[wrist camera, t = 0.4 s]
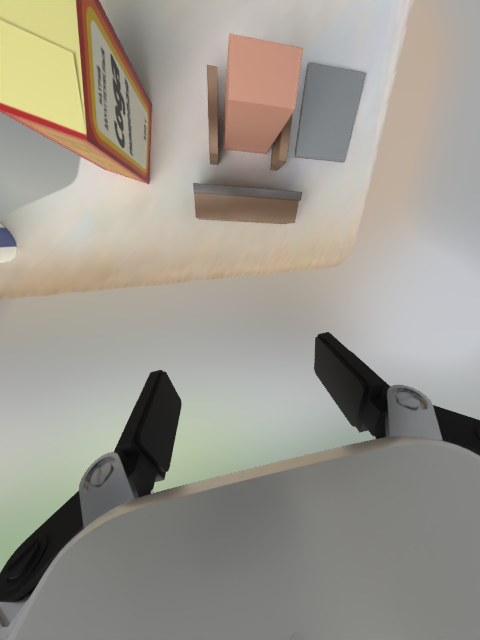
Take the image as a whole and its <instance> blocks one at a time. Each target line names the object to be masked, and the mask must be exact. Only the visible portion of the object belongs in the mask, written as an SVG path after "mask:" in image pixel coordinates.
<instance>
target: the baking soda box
mask: <svg viewBox="0 0 480 640" xmlns="http://www.w3.org/2000/svg"><path fill="white" fill-rule="evenodd" d="M0 112H2V113H3V114H5V115H7V116H9V117H11V118H13V119H14V120H16V121H18V122H20V123H22V124H23V125H25V126H27V127H29V128H31V129H32V130H34V131H36V132H38V133H40V134H41V135H43V136H45V137H47V138H49V139H51V140H52V141H54V142H56V143H58V144H60V145H61V146H63V147H65V148H67V149H69V150H71V151H72V152H74V153H76V154H78V155H79V156H81V157H83V158H85V159H87V160H88V161H90V162H92V163H94V164H96V165H97V166H99V167H101V168H103V169H105V170H108V171H111V172H114V173H117V174H120V175H123V176H126V177H129V178H132V179H135V180H138V181H141V182H144V183H147V184H149V170H150V141H151V113H152V104H151V102H150V100H149V98H148V96H147V94H146V92H145V90H144V88H143V87H142V85H141V83H140V81H139V79H138V77H137V75H136V73H135V71H134V69H133V67H132V65H131V63H130V61H129V59H128V57H127V55H126V53H125V51H124V49H123V47H122V45H121V43H120V41H119V39H118V37H117V35H116V33H115V31H114V29H113V27H112V25H111V23H110V21H109V19H108V17H107V15H106V14H105V12H104V10H103V8H102V6H101V4H100V2H99V0H0Z"/></svg>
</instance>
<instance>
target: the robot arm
mask: <svg viewBox="0 0 480 640" xmlns="http://www.w3.org/2000/svg"><path fill="white" fill-rule="evenodd" d="M314 370H315V373H316V375H317V376H318V378H319V379H320V381H321V382H322V384H323V385H324V386H325V388H326V389H327V391H328V392H329V393H330V395H331V397H332V398H333V399H334V401H335V402H336V404H337V405H338V406H339V408H340V409H341V411H342V412H343V414H344V415H345V417H346V418H347V420H348V421H349V422H350V424H351V425H352V426H356V428H357V429H358V431H359V432H363V431H367V430H369V432H370V433H371V434H372V436H373V440H370V441H365V442H361V443H356V444H351V445H346V446H342V447H338V448H334V449H329V450H325V451H321V452H317V453H313V454H308V455H305V456H300V457H296V458H292V459H288V460H283V461H279V462H275V463H271V464H267V465H263V466H259V467H255V468H251V469H247V470H242V471H238V472H234V473H230V474H226V475H223V476H218V477H215V478H210V479H206V480H202V481H198V482H194V483H190V484H186V485H183V486H179V487H175V488H171V489H167V490H164V491H160V492H156V493H154V492H153V490H152V489H153V487H154V482H157V481H161V480H164V478H165V473H166V472H167V471H168V470H169V467H170V461H171V457H172V452H173V446H174V441H175V436H176V431H177V426H178V420H179V416H180V410H181V399H180V397H179V396H178V394H177V392H176V390H175V388H174V386H173V385H172V383H171V381H170V379H169V377H168V375H167V373H166V372H163V371H162V370H158V371H155V372H151V373H150V375H149V377H148V379H147V381H146V383H145V386H144V388H143V390H142V392H141V394H140V397H139V399H138V401H137V402H136V405H135V407H134V409H133V411H132V413H131V416H130V418H129V420H128V422H127V424H126V426H125V429H124V431H123V433H122V435H121V438H120V440H119V442H118V444H117V446H116V448H115V451H114V452H111V453H107V454H105V455H103V456H101V457H100V458H98V459H97V460H96V461H95V462H94V463H93V464H92V465H91V466H90V467H89V468H88V469H87V471H86V472H85V474H84V476H83V477H82V479H81V482H80V484H79V491H78V492H77V493H76V494H75V495H74V496H73V497H72V498H70V499H69V500H68V501H67V502H66V503H65V504H64V505H63V506H62V507H61V508H60V509H59V510H58V511H56V512H55V513H54V514H53V515H52V516H51V517H50V518H49V519H48V520H47V521H46V522H45V523H44V524H42V525H41V526H40V527H39V528H38V529H37V530H36V531H35V532H34V533H33V534H32V535H31V536H30V537H28V538H27V539H26V540H25V542H23V543H22V544H21V546H20V547H19V548H18V549H17V550H16V551H15V552H14V553H13V555H12V556H11V557H10V559H9V560H8V561H7V563H6V565H5V566H4V568H3V569H2V571H1V573H0V640H480V420H477V419H474V418H471V417H468V416H465V415H462V414H458V413H456V412H452V411H449V410H446V409H443V408H440V407H437V406H434V405H432V403H431V401H430V400H429V399H428V398H427V396H425V395H424V394H423V393H421V392H420V391H418V390H416V389H414V388H411V387H408V386H404V385H393V386H389V385H388V384H387V383H386V382H384V381H383V380H382V379H381V378H380V377H379V376H378V375H377V374H376V373H375V372H374V371H372V370H371V369H370V368H369V367H368V366H367V365H366V364H365V363H364V362H362V361H361V360H360V359H359V358H358V357H357V356H356V355H355V354H354V353H352V352H351V351H349V350H348V349H347V348H346V347H345V346H344V345H342V344H341V343H340V342H339V341H338V340H337V339H336V338H335V337H333V335H331V334H330V333H329V332H326V333H322V334H319V335H318V337H316V339H315V363H314Z"/></svg>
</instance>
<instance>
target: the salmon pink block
mask: <svg viewBox="0 0 480 640" xmlns="http://www.w3.org/2000/svg"><path fill="white" fill-rule="evenodd" d="M302 53H303V48H299V47H294V46H289V45H284V44H279V43H274V42H269V41H264V40H259V39H254V38H249V37H244V36H239V35H234V34H229V45H228V60H227V74H226V89H225V103H224V149H226V150H235V151H244V152H253V153H262V154H266V153H267V151H268V150H269V148H270V147H271V145H272V144H273V142H274V141H275V139H276V138H277V136H278V135H279V133H280V132H281V130H282V129H283V127H284V126H285V124H286V122H287V121H288V119H289V118H290V116H291V115H292V113H293V112H294V110H295V106H296V99H297V91H298V83H299V76H300V68H301V60H302Z"/></svg>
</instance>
